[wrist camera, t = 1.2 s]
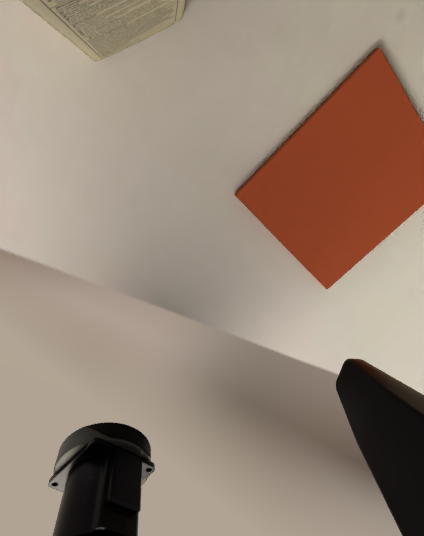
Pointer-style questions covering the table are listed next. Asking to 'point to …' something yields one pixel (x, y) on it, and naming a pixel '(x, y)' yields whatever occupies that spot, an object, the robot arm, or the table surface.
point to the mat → (344, 174)
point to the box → (107, 21)
